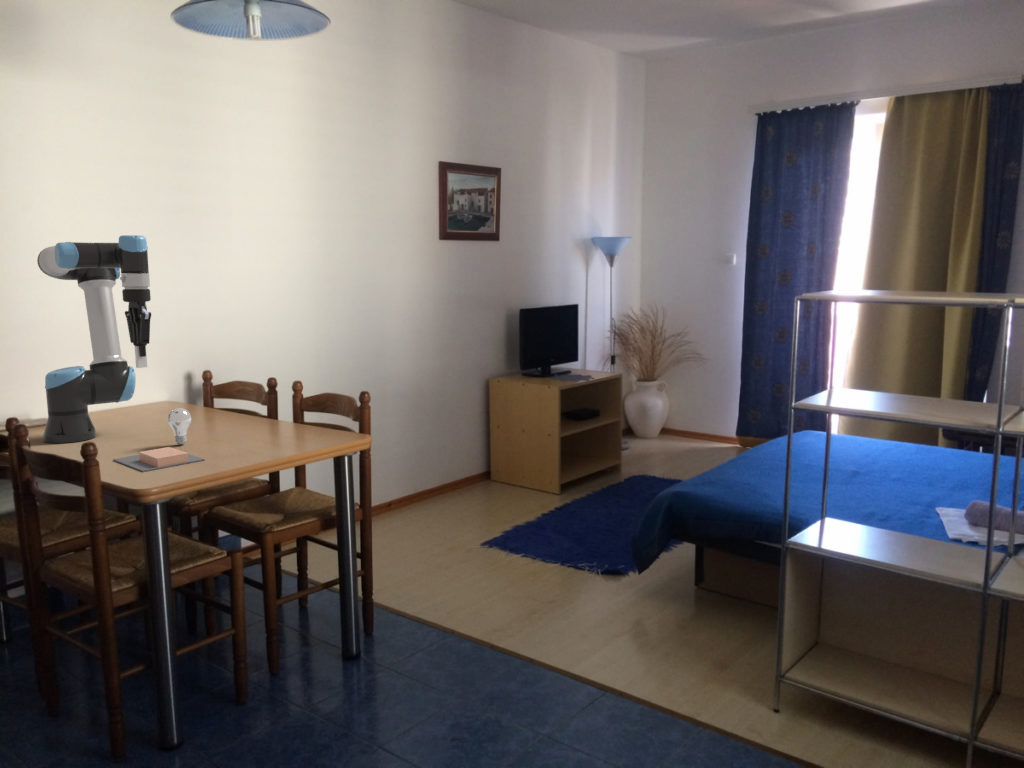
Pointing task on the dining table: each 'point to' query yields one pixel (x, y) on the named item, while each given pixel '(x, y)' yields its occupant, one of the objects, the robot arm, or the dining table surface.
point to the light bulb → (179, 424)
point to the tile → (163, 456)
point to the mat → (142, 466)
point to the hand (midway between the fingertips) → (141, 367)
